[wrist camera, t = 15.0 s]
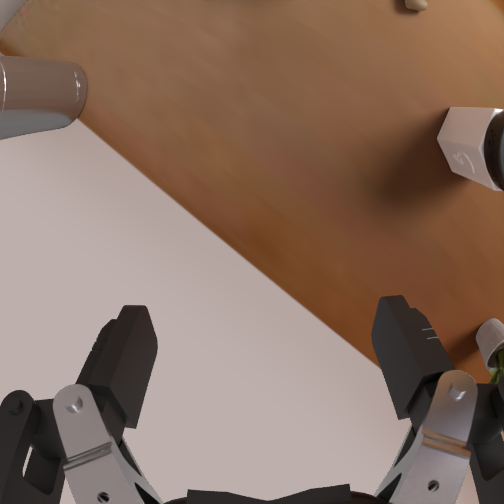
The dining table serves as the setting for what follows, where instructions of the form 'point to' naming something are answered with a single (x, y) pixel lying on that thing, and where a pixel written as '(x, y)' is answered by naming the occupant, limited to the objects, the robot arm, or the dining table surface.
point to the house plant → (492, 347)
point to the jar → (475, 144)
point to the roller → (416, 5)
